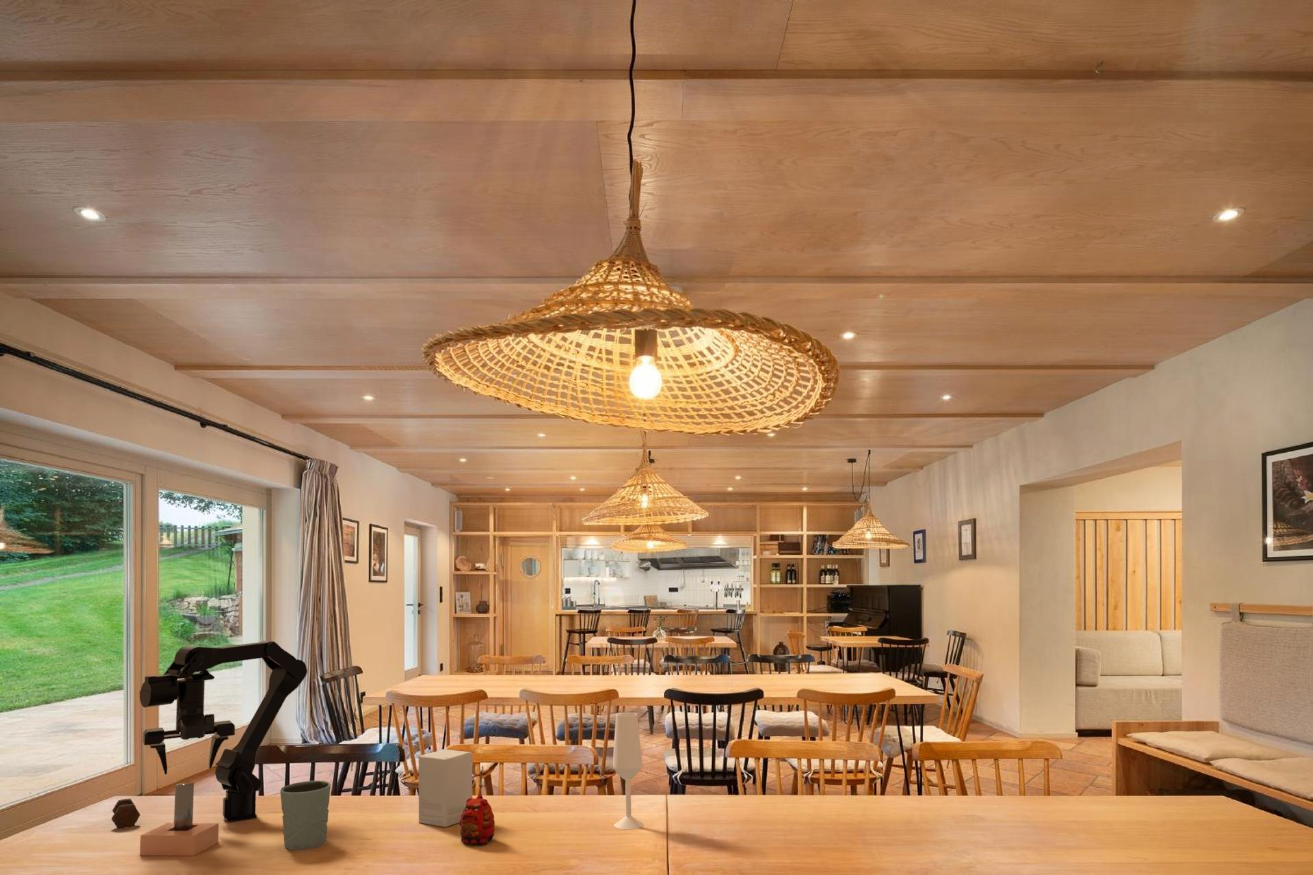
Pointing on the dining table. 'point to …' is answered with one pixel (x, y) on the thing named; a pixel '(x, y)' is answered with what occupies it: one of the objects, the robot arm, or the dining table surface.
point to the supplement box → (444, 786)
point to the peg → (183, 806)
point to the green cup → (305, 814)
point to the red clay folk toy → (477, 819)
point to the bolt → (125, 814)
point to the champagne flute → (627, 760)
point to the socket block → (179, 840)
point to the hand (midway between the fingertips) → (188, 771)
